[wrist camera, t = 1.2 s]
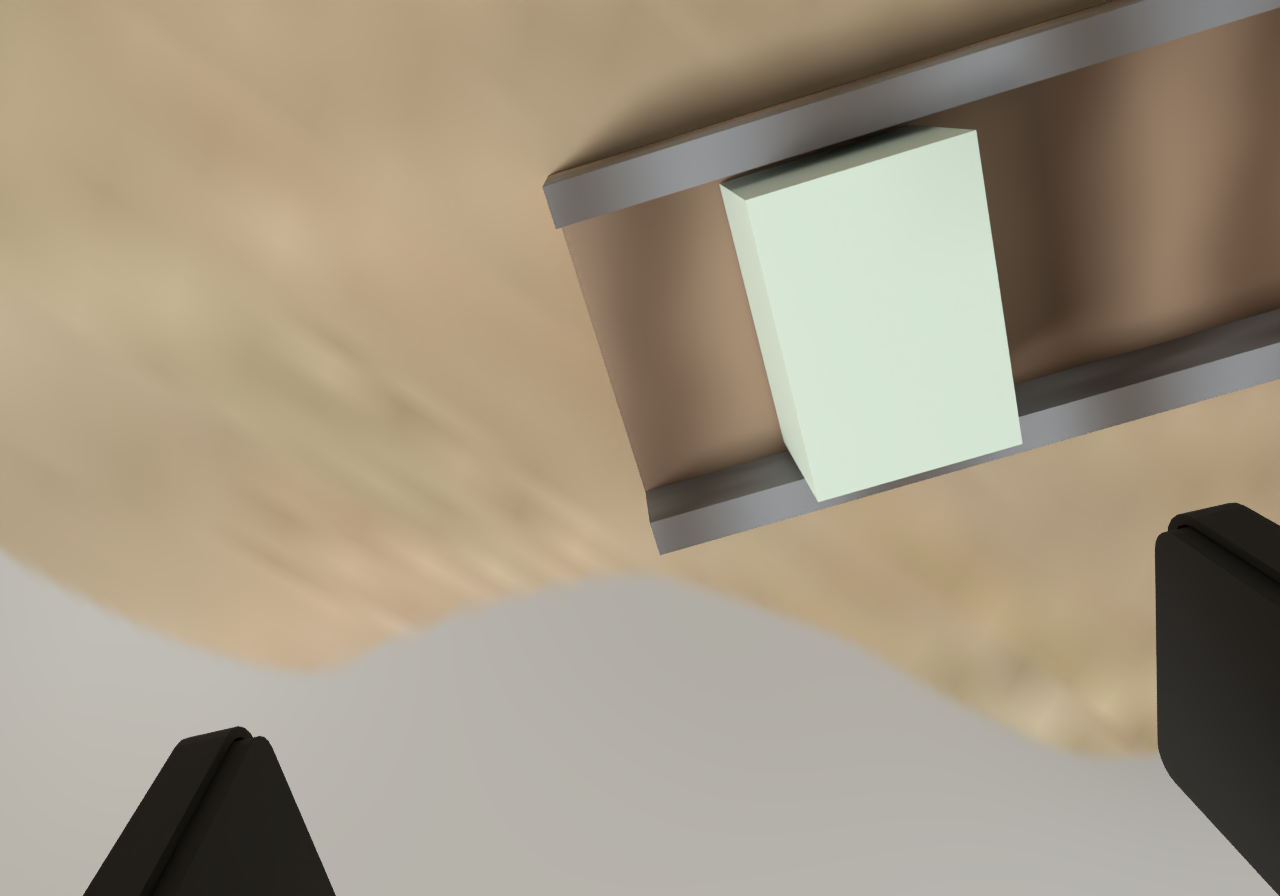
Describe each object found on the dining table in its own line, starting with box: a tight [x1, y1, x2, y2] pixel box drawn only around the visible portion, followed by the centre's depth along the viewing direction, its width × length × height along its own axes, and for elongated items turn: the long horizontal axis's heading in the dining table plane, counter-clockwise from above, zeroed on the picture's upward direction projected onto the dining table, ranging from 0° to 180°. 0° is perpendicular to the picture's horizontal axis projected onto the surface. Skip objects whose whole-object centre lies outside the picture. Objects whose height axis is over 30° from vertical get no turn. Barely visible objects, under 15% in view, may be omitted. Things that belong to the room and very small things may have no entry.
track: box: [543, 0, 1280, 555], centre depth 28 cm, size 32×12×6 cm, turn 106°
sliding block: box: [719, 125, 1022, 502], centre depth 27 cm, size 6×9×5 cm
